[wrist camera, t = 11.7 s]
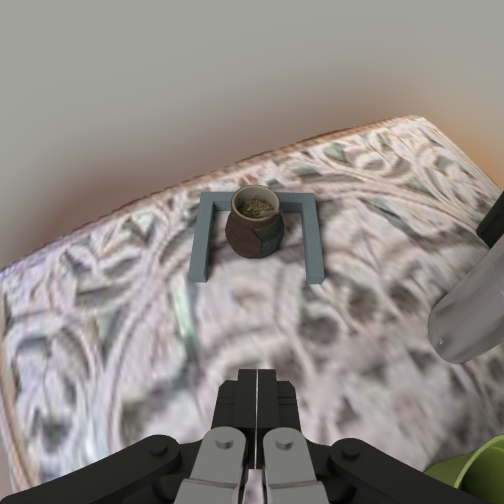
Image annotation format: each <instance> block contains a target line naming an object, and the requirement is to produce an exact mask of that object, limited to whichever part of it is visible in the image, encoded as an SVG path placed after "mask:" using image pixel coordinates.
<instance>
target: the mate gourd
mask: <svg viewBox="0 0 504 504" xmlns="http://www.w3.org/2000/svg"><path fill="white" fill-rule="evenodd" d="M280 207H281V203H280V199H279V197H278V195H277V194H276V193H275V192H273V191H272V190H271V189H270V188H268V187H265V186H261V185H249V186H245V187H242V188H240V189H239V190H237V191H236V192H235V193H234V195H233V196H232V199H231V213H230V214H229V216H228V220H227V224H226V228H225V233H226V238H227V240H228V242H229V244H230V245H231V246H232V248H233V250H234V251H235V252H236V253H237V254H239V255H240V256H242V257H245V258H248V259H251V258H263V257H266V256H268V255H270V254H272V253H273V252H274V251H275V250H276V249H277V248H278V246H279V244H280V243H281V241H282V239H283V236H284V222H283V218H282V216H281V214H280V213H281V212H282V209H281V210H280Z"/></svg>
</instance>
